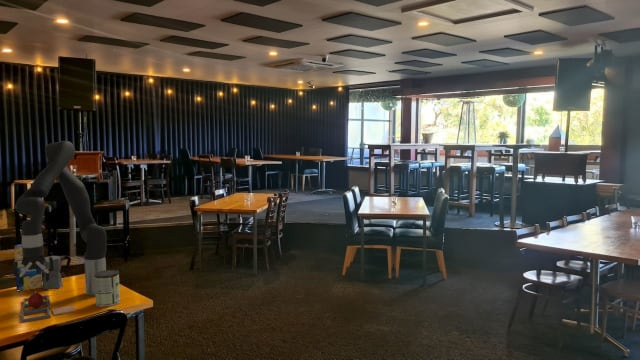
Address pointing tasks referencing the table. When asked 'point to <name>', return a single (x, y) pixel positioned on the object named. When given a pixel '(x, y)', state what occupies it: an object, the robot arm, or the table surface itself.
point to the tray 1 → (43, 298)
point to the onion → (35, 300)
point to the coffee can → (107, 288)
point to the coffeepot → (55, 272)
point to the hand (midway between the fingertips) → (34, 283)
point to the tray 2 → (36, 309)
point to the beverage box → (27, 273)
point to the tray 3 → (35, 313)
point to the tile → (63, 310)
